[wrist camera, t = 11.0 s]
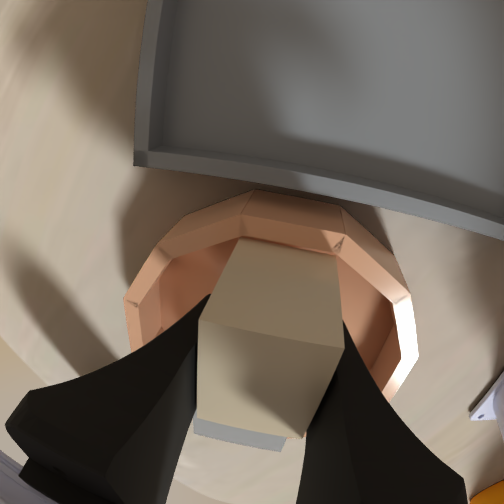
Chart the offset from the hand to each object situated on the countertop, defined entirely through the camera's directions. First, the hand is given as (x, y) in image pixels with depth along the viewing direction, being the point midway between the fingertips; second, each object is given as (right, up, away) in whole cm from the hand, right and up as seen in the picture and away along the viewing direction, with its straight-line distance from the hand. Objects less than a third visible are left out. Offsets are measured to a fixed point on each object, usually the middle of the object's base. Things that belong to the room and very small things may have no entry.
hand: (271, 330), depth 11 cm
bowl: (0, -1, +5) cm, 5 cm away
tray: (+4, +11, -2) cm, 12 cm away
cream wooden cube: (0, +1, +1) cm, 1 cm away
